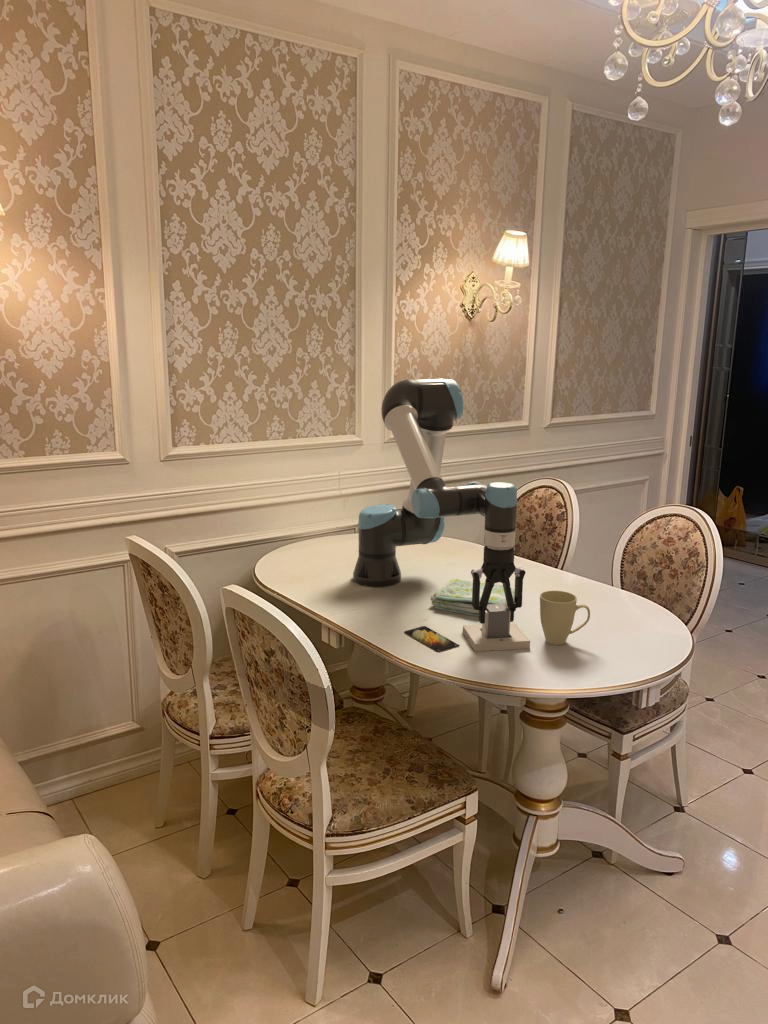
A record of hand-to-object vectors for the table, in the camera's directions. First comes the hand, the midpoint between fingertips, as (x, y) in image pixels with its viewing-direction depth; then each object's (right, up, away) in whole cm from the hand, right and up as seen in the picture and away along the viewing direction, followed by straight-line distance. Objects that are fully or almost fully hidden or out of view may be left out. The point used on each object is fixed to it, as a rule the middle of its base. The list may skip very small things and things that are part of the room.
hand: (495, 633), depth 189 cm
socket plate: (0, -2, 0) cm, 2 cm away
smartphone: (-16, -2, +1) cm, 16 cm away
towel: (-2, +4, +26) cm, 26 cm away
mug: (+16, -2, 0) cm, 16 cm away
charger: (0, 0, 0) cm, 0 cm away
